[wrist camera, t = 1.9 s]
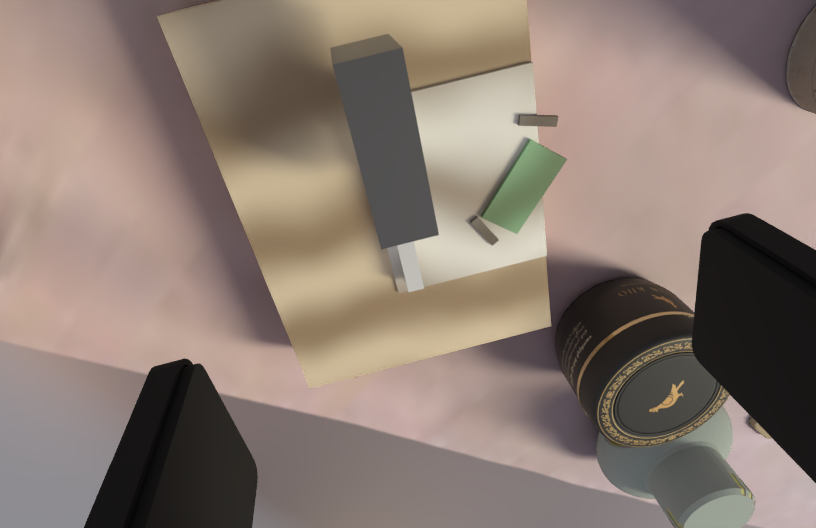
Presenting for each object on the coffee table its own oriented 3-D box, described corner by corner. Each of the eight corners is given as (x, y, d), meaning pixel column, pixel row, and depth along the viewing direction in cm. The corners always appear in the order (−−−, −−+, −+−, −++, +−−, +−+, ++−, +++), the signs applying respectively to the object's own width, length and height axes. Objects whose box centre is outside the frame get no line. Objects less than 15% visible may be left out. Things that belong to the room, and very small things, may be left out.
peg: (329, 39, 23) (332, 64, 17) (381, 26, 23) (402, 47, 17) (393, 285, 30) (411, 363, 24) (433, 275, 30) (461, 350, 24)
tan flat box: (178, 9, 26) (153, 17, 22) (520, -72, 26) (556, -79, 22) (310, 349, 37) (309, 394, 33) (548, 288, 37) (574, 325, 33)
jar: (692, 271, 39) (769, 334, 32) (646, 375, 43) (705, 449, 37) (566, 266, 37) (620, 332, 30) (533, 376, 41) (573, 454, 35)
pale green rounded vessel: (683, 354, 43) (775, 451, 34) (714, 407, 47) (804, 507, 38) (568, 423, 45) (628, 531, 36) (608, 468, 49) (670, 576, 40)
